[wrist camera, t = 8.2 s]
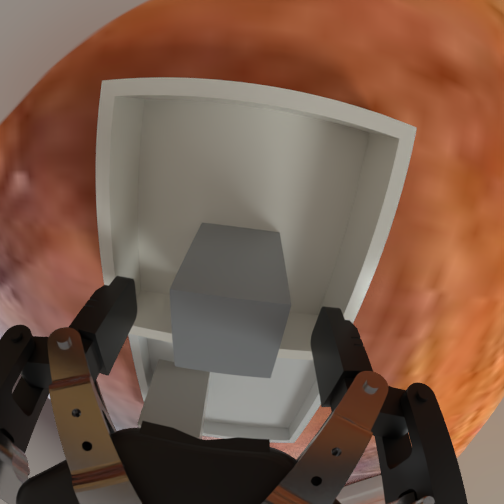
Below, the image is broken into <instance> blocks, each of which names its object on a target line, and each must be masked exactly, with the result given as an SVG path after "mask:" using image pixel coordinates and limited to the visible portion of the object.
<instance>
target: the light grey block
mask: <svg viewBox="0 0 504 504" xmlns="http://www.w3.org/2000/svg"><path fill="white" fill-rule="evenodd" d="M209 379H210V372H207V371H200V370H194V369H188V368H182V367H176V366H175V363H174V362H171V361H166V360H161V359H159V360H158V363H157V366H156V369H155V371H154V374H153V377H152V380H151V383H150V386H149V389H148V393H147V396H146V399H145V402H144V405H143V408H142V411H141V415H140V418H139V421H138V426H139V428H141V424H142V421H147V422H151V423H155V424H159V425H164V426H168V427H173V428H175V429H177V430H180V431H182V432H184V433H187V434H189V435H192V436H194V437H197V438H199V439H202V434H203V427H204V421H205V414H206V407H207V401H208V392H209Z"/></svg>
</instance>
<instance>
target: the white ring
mask: <svg viewBox="0 0 504 504" xmlns="http://www.w3.org/2000/svg"><path fill="white" fill-rule="evenodd" d="M336 499H337V500H338V501H339V502H340V503H341V504H385V498H384V490H383V483H382V476H381V475H379V476H376V477H372V478H369V479H366V480H363V481H360V482H357V483H354V484H351V485H348V486H345V487H343V488H342V490H341V491H340V493H339V494H338V496H337V497H336Z"/></svg>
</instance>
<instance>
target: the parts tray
mask: <svg viewBox="0 0 504 504" xmlns="http://www.w3.org/2000/svg"><path fill="white" fill-rule="evenodd" d="M128 336H129V341H130V346H131V351H132V356H133V361H134V365H135V369H136V374H137V378H138V382H139V386H140V390H141V393H142V397H143V401H144V402H145V399H146V396H147V393H148V389H149V386H150V383H151V380H152V377H153V374H154V371H155V369H156V366H157V363H158V360H159V359H161V360H166V361H171V362H174V352H173V343H171V342H166V341H161V340H156V339H151V338H147V337H142V336H138V335H133V334H128ZM320 405H321V401H320V395H319V389H318V383H317V378H316V372H315V367H314V361H313V360H302V359H289V358H276V361H275V365H274V368H273V371H272V375H271V378H260V377H249V376H239V375H230V374H222V373H214V372H210V379H209V392H208V401H207V407H206V414H205V421H204V427H203V434H202V436H208V437H215V438H223V439H227V438H236V437H241V438H254V439H270V442H276V443H294V442H295V441H296V440H297V438H298V437H299V436H300V434H301V433H302V431H303V430H304V428H305V427H306V426H307V424H308V423H309V421H310V420H311V418H312V417H313V415H314V414H315V412H316V411H317V409H318V408H319V406H320Z"/></svg>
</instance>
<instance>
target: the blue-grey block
mask: <svg viewBox="0 0 504 504" xmlns="http://www.w3.org/2000/svg"><path fill="white" fill-rule="evenodd" d="M291 305H292V304H291V298H290V292H289V285H288V279H287V273H286V267H285V261H284V255H283V249H282V243H281V238H280V232H273V231H266V230H258V229H250V228H242V227H235V226H227V225H218V224H210V223H201V225H200V227H199V229H198V231H197V233H196V235H195V237H194V239H193V241H192V243H191V245H190V247H189V249H188V251H187V253H186V255H185V258H184V260H183V262H182V264H181V266H180V268H179V270H178V272H177V274H176V276H175V278H174V281H173V283H172V285H171V287H170V310H171V327H172V340H173V352H174V363H175V366H176V367H182V368H188V369H194V370H200V371H207V372H214V373H222V374H230V375H239V376H249V377H260V378H271V375H272V371H273V368H274V365H275V361H276V358H277V355H278V351H279V348H280V344H281V341H282V337H283V334H284V330H285V327H286V323H287V320H288V316H289V312H290V308H291Z"/></svg>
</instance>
